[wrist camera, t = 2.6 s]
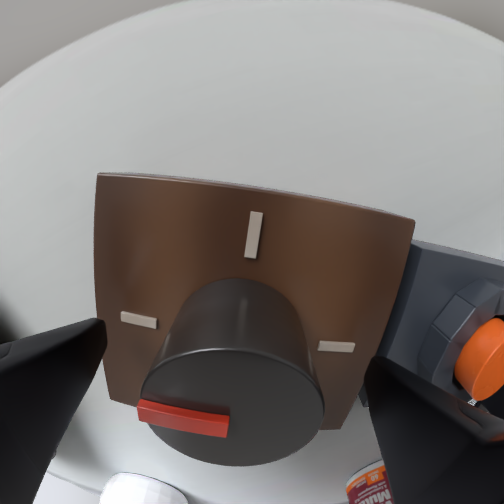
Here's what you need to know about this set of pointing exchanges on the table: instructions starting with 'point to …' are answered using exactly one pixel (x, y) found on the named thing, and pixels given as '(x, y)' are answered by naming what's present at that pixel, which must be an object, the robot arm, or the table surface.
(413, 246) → the button box
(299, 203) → the panel
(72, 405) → the robot arm
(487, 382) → the button
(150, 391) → the knob
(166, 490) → the bottle
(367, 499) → the pill bottle
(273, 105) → the table surface
